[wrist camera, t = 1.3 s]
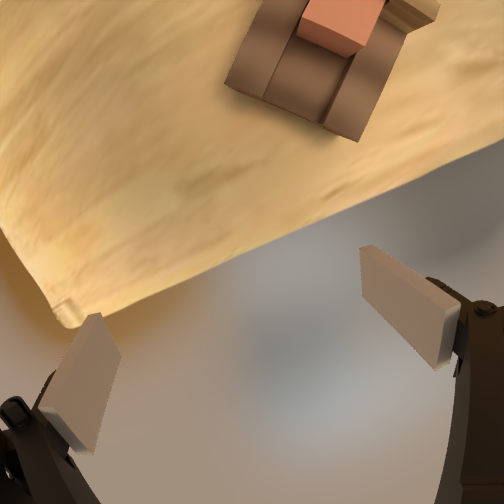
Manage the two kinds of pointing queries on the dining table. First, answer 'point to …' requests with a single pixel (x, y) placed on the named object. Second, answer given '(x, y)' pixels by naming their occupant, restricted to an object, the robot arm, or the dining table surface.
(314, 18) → the peg
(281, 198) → the dining table surface
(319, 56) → the guide block
